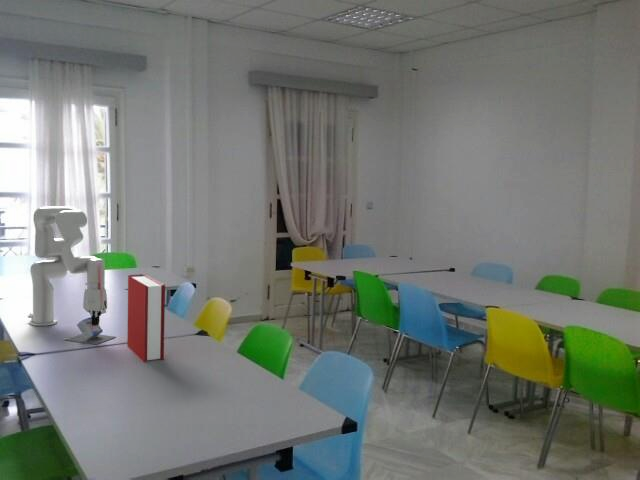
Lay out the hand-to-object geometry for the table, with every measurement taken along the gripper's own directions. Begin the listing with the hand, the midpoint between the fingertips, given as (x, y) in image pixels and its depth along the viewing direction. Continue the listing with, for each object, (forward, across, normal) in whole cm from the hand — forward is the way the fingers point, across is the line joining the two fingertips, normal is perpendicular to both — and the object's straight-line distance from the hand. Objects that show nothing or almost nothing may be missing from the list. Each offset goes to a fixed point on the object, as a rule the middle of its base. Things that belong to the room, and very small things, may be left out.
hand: (95, 324), depth 275 cm
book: (+7, +31, -7) cm, 33 cm away
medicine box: (+5, 0, 0) cm, 5 cm away
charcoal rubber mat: (+7, -2, 0) cm, 7 cm away
